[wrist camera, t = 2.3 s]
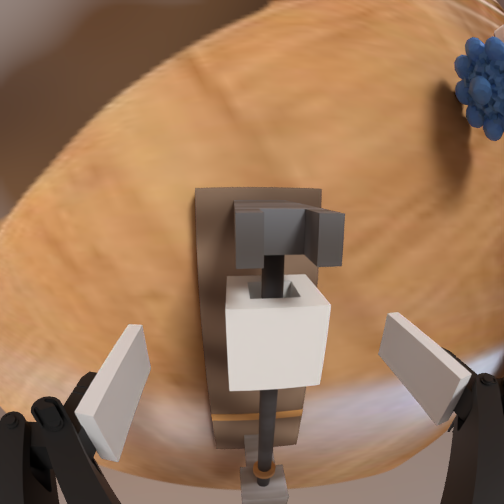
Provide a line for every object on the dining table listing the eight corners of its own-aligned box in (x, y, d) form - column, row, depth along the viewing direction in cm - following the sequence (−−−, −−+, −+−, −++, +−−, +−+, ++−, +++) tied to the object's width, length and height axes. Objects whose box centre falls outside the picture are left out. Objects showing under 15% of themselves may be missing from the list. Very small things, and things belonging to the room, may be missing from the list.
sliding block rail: (197, 188, 22) (150, 186, 9) (316, 188, 23) (409, 192, 10) (216, 440, 29) (215, 528, 16) (294, 436, 29) (315, 520, 16)
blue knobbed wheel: (415, 56, 20) (484, 18, 8) (448, 54, 20) (510, 26, 8) (455, 150, 23) (537, 146, 11) (483, 139, 23) (554, 135, 11)
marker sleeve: (227, 276, 17) (225, 309, 12) (305, 274, 18) (331, 304, 13) (229, 344, 18) (229, 391, 13) (300, 341, 19) (319, 384, 14)
